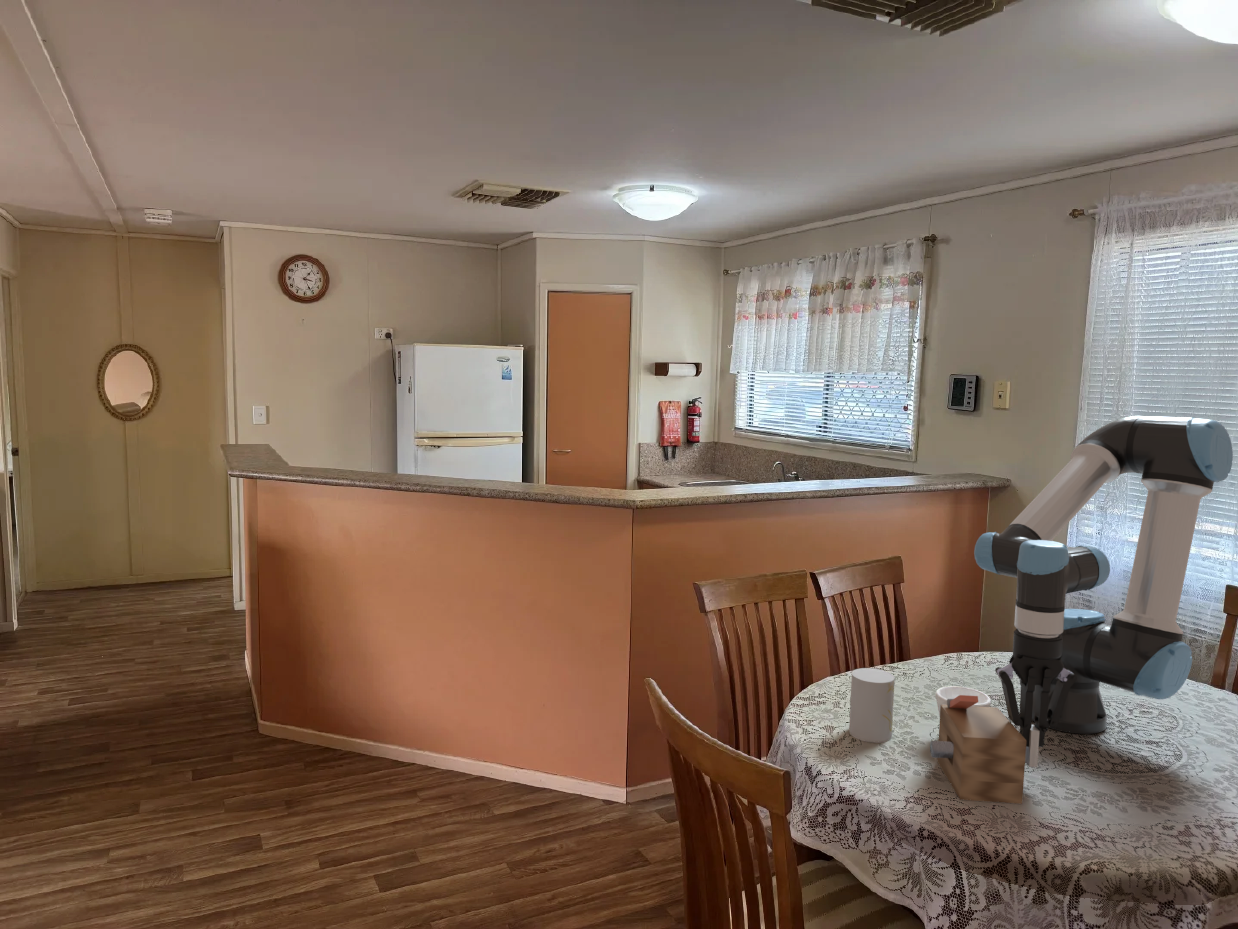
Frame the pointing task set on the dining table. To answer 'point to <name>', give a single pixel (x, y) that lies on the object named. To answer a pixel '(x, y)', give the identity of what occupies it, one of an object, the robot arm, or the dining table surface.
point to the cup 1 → (871, 705)
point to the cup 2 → (955, 691)
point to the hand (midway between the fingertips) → (1030, 763)
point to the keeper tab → (962, 701)
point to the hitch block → (983, 754)
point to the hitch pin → (941, 749)
